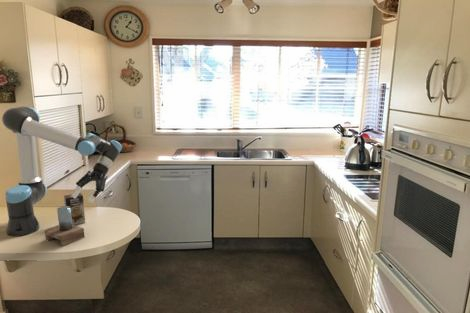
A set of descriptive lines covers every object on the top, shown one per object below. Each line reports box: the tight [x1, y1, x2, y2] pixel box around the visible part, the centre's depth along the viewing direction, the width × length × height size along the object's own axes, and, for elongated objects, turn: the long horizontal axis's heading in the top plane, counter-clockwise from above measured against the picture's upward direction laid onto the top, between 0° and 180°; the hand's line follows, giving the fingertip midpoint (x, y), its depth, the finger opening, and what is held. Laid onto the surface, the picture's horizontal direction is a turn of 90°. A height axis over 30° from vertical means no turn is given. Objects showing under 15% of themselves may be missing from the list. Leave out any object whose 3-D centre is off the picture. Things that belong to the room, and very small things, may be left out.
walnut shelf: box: [44, 225, 85, 247], centre depth 180 cm, size 14×12×5 cm
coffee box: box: [63, 192, 86, 226], centre depth 199 cm, size 9×6×16 cm
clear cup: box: [56, 205, 73, 231], centre depth 179 cm, size 6×6×11 cm
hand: (81, 199), depth 186 cm, fingers open, 13 cm apart
